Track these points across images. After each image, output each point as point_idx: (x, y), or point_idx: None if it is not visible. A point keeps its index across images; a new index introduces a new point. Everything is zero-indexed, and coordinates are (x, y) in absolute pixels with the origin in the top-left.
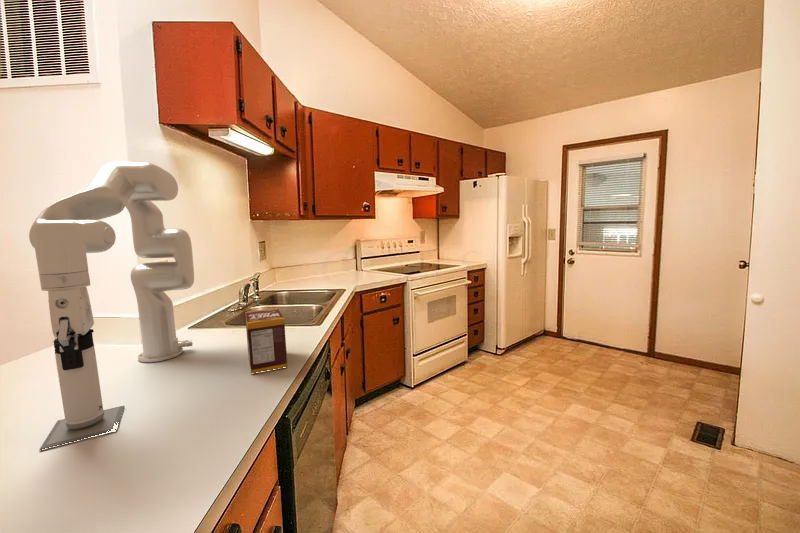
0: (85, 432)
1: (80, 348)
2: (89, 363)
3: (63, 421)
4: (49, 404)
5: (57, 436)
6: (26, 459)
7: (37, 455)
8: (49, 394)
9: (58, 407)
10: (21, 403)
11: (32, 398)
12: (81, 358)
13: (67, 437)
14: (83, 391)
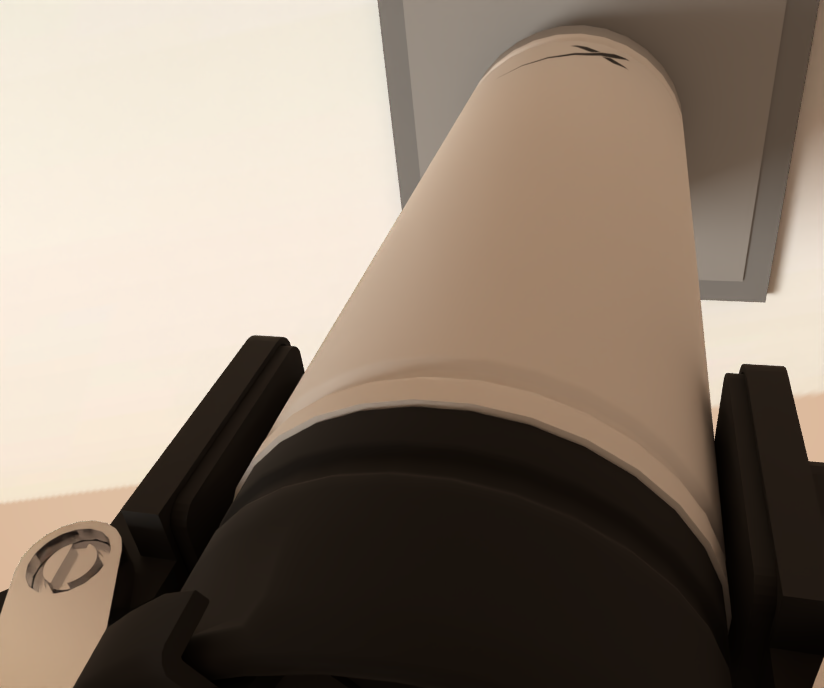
0: (718, 104)
1: (811, 607)
2: (649, 307)
3: None
4: (154, 353)
5: None
6: (815, 332)
7: (807, 295)
8: (33, 372)
9: (207, 311)
10: (108, 448)
11: (64, 423)
12: (800, 458)
13: (718, 195)
14: (690, 222)
